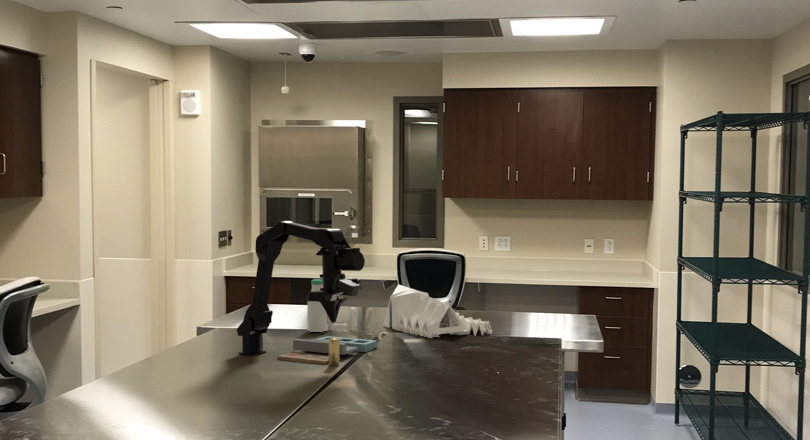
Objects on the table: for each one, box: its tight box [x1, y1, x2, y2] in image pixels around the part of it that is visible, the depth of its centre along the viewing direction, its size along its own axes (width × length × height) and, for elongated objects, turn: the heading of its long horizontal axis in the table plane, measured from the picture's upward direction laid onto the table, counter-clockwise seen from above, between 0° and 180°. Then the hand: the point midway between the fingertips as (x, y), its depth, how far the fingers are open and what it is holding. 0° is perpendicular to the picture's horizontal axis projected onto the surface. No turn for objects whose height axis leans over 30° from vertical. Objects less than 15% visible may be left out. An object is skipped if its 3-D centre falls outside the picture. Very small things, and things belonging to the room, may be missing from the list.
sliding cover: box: [292, 338, 358, 356], centre depth 234 cm, size 9×19×3 cm, turn 63°
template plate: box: [276, 351, 341, 366], centre depth 226 cm, size 8×18×1 cm, turn 63°
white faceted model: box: [382, 283, 493, 339], centre depth 283 cm, size 41×27×17 cm, turn 32°
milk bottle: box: [306, 278, 329, 333], centre depth 278 cm, size 8×8×20 cm
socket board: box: [314, 335, 378, 353], centre depth 245 cm, size 8×20×2 cm, turn 63°
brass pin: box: [328, 338, 340, 368], centre depth 217 cm, size 3×3×8 cm
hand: (333, 322), depth 217 cm, fingers closed
